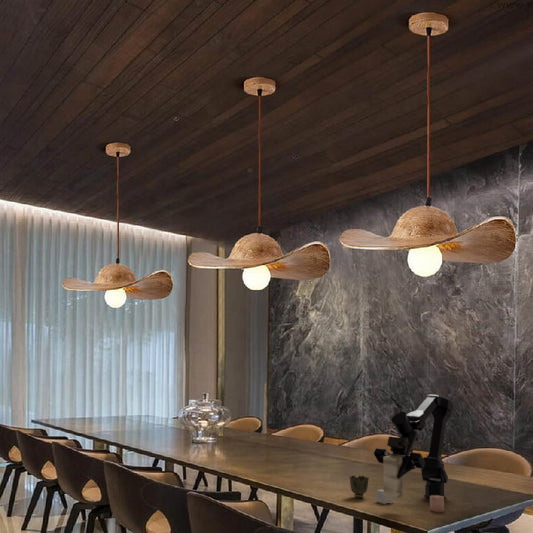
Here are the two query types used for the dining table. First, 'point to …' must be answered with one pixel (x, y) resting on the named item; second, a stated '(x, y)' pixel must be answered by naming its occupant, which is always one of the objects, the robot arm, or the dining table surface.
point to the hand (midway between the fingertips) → (391, 476)
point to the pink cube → (436, 503)
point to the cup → (359, 485)
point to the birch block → (392, 477)
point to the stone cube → (383, 498)
